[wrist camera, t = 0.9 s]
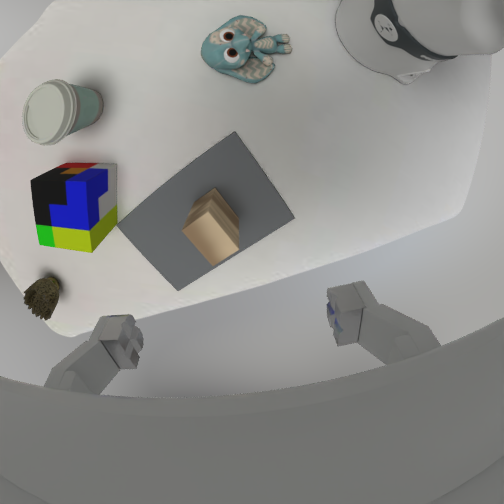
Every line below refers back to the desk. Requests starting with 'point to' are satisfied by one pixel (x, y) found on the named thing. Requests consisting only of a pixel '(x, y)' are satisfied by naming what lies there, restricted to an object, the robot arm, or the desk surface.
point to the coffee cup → (59, 111)
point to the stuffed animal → (243, 49)
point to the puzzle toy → (75, 205)
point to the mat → (191, 189)
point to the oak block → (213, 227)
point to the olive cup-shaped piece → (43, 297)
